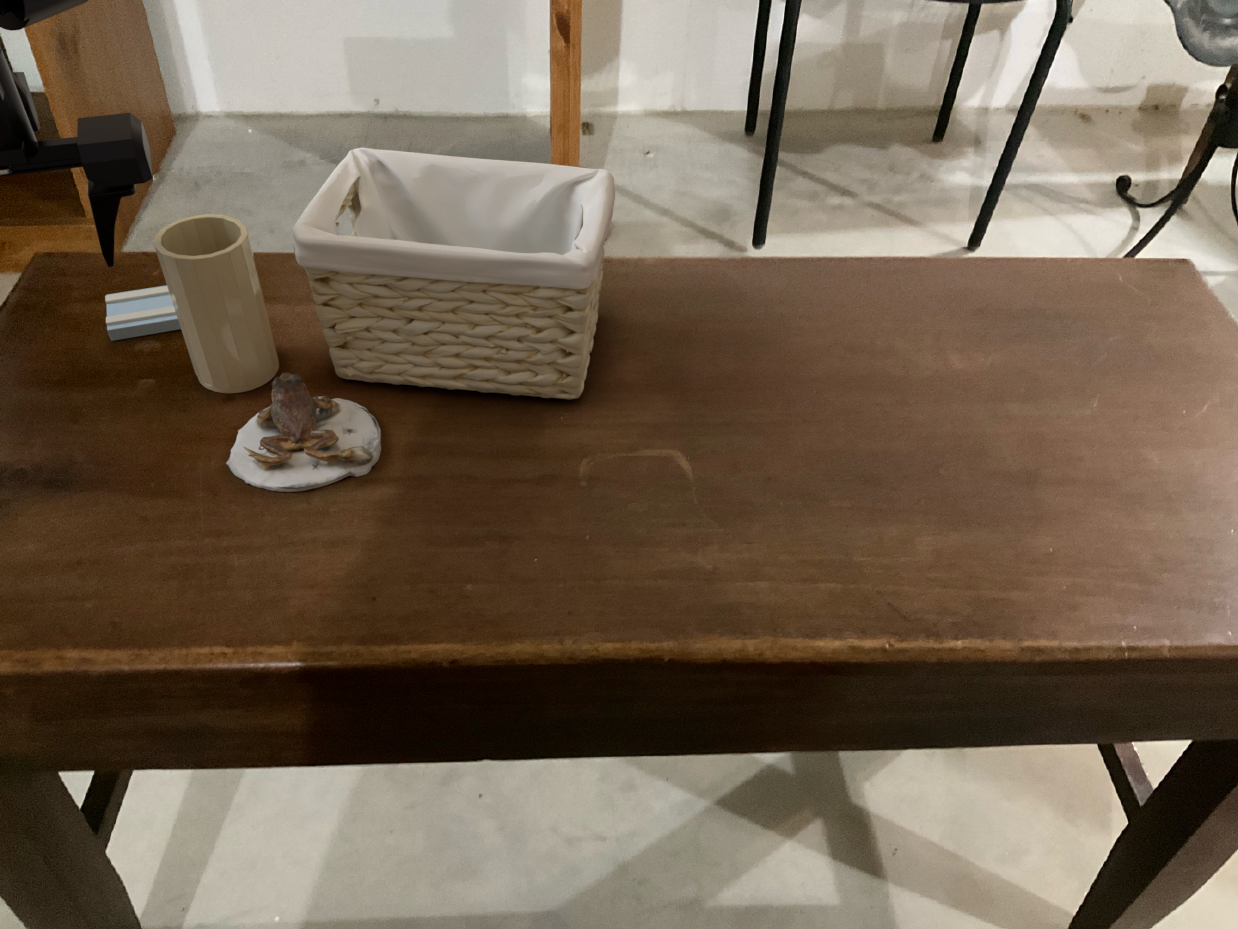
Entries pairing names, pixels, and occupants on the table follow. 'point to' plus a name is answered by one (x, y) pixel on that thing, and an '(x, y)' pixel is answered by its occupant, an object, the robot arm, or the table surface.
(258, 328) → the cup
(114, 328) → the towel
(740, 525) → the table surface
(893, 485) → the table surface
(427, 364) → the basket
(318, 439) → the frog figurine
